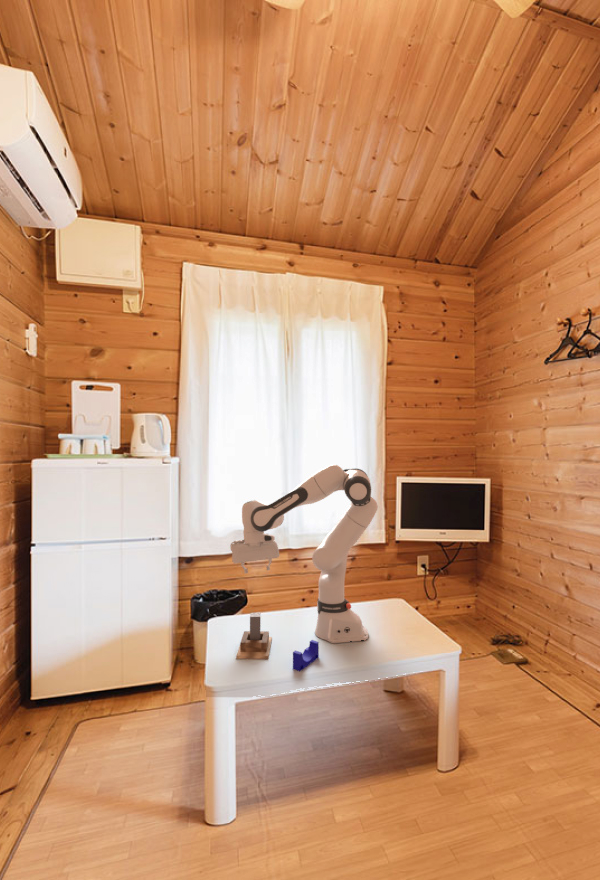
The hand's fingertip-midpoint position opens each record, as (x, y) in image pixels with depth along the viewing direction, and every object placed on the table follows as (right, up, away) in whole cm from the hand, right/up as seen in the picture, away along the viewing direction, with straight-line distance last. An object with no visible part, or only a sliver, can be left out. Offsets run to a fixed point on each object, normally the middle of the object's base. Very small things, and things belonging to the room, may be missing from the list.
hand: (257, 571), depth 171 cm
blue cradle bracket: (+20, -26, -25) cm, 41 cm away
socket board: (0, -26, -14) cm, 29 cm away
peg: (+1, -25, -14) cm, 28 cm away
